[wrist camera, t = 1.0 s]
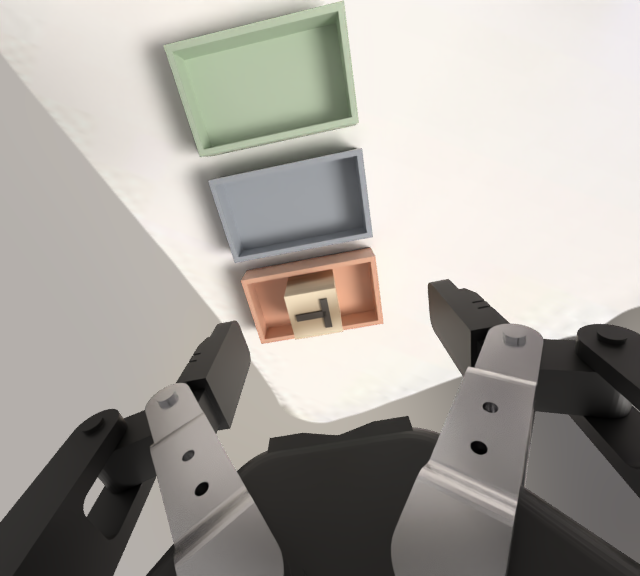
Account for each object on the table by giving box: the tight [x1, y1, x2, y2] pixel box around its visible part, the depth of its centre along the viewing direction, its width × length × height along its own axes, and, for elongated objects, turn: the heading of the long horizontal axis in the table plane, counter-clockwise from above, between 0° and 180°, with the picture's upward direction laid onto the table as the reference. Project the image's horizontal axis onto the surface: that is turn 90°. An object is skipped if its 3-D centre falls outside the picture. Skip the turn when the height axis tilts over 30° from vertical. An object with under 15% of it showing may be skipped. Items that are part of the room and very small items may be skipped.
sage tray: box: [163, 1, 359, 157], centre depth 26 cm, size 8×14×3 cm, turn 101°
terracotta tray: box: [241, 248, 383, 344], centre depth 34 cm, size 8×14×3 cm, turn 101°
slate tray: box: [208, 148, 373, 263], centre depth 30 cm, size 8×14×3 cm, turn 101°
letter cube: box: [284, 269, 343, 340], centre depth 32 cm, size 5×5×5 cm
